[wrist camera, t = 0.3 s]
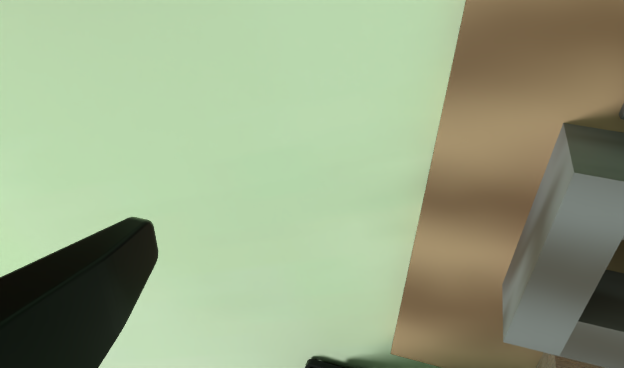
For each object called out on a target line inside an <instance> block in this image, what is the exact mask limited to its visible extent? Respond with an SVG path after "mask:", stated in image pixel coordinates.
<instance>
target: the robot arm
mask: <svg viewBox="0 0 624 368" xmlns="http://www.w3.org/2000/svg"><path fill="white" fill-rule="evenodd" d="M157 258H158V247H157V242H156V236H155V231H154V226H153V224H152V222H151V221H149V220H146V219H141V218H137V217H130V218H127V219H125V220H123V221H121V222H118V223H116V224H114V225H112V226H110V227H108V228H105V229H103V230H101V231H99V232H97V233H95V234H93V235H90V236H88V237H86V238H84V239H82V240H80V241H78V242H75V243H73V244H71V245H69V246H67V247H65V248H62V249H60V250H58V251H56V252H54V253H52V254H50V255H47V256H45V257H43V258H41V259H39V260H37V261H35V262H32V263H30V264H28V265H26V266H24V267H22V268H19V269H17V270H15V271H13V272H11V273H9V274H7V275H4V276H2V277H0V368H98V367H99V366H100V364H101V362H102V361H103V359H104V358H105V356H106V355H107V353H108V351H109V350H110V348H111V347H112V345H113V344H114V342H115V341H116V339H117V337H118V336H119V334H120V332H121V331H122V329H123V327H124V326H125V324H126V322H127V320H128V318H129V316H130V314H131V312H132V310H133V308H134V306H135V304H136V302H137V300H138V298H139V296H140V294H141V292H142V290H143V288H144V286H145V284H146V282H147V280H148V278H149V276H150V274H151V272H152V270H153V268H154V266H155V264H156V262H157ZM305 368H343V367H340V366H336V365H332V364H329V363H325V362H322V361H318V360H314V359H309V360H308V361H307V363H306V366H305Z"/></svg>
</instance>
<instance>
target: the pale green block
mask: <svg viewBox="0 0 624 368" xmlns="http://www.w3.org/2000/svg"><path fill="white" fill-rule="evenodd" d="M536 368H604V367H600V366H596V365H592V364H588V363H584V362H580V361H576V360H572V359H568V358H564V357H560V356H556V355H552V354H548V353H544V352H543V354H542V356H541V358H540V360H539V362H538V364H537V366H536Z"/></svg>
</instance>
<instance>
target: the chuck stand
mask: <svg viewBox="0 0 624 368" xmlns="http://www.w3.org/2000/svg"><path fill="white" fill-rule="evenodd" d="M543 352H544V353H548V354H552V355H556V356H560V357H564V358H568V359H572V360H576V361H580V362H584V363H588V364H592V365H596V366H600V367H604V368H624V0H466V3H465V7H464V12H463V17H462V21H461V26H460V31H459V35H458V40H457V45H456V49H455V54H454V59H453V63H452V68H451V73H450V77H449V82H448V87H447V91H446V96H445V101H444V105H443V110H442V115H441V119H440V124H439V129H438V133H437V138H436V143H435V148H434V152H433V157H432V162H431V166H430V171H429V176H428V180H427V185H426V190H425V194H424V199H423V204H422V208H421V213H420V218H419V222H418V227H417V232H416V236H415V241H414V246H413V250H412V255H411V260H410V264H409V269H408V274H407V278H406V283H405V288H404V292H403V297H402V302H401V306H400V311H399V316H398V320H397V325H396V330H395V334H394V339H393V344H392V349H391V354H393V355H397V356H400V357H404V358H408V359H412V360H415V361H419V362H423V363H427V364H431V365H434V366H438V367H442V368H536V366H537V364H538V362H539V360H540V358H541V356H542V354H543Z"/></svg>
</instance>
